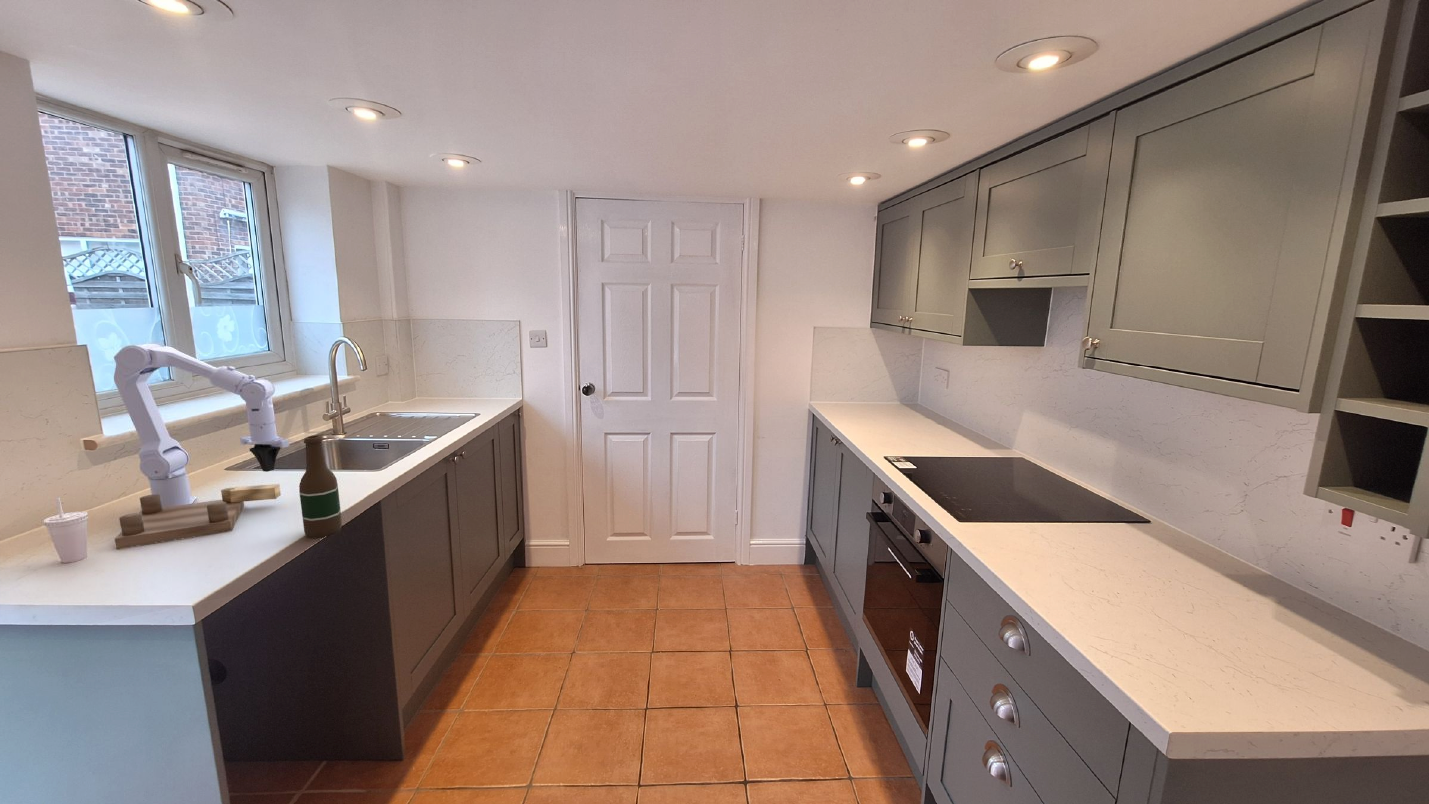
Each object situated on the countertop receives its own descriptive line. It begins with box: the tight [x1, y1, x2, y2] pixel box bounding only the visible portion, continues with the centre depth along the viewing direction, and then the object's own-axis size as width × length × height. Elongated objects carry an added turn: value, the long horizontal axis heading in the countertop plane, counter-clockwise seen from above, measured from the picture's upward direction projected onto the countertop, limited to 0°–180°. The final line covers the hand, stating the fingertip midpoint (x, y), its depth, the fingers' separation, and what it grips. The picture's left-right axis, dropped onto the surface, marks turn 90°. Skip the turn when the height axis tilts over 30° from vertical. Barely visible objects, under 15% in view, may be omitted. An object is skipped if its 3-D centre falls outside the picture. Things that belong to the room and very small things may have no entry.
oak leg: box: [220, 483, 282, 503], centre depth 151 cm, size 12×3×3 cm, turn 108°
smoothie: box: [42, 497, 90, 564], centre depth 120 cm, size 6×6×14 cm
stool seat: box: [114, 494, 245, 550], centre depth 139 cm, size 20×20×6 cm
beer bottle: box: [298, 435, 343, 539], centre depth 135 cm, size 8×8×24 cm
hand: (268, 470), depth 157 cm, fingers closed
